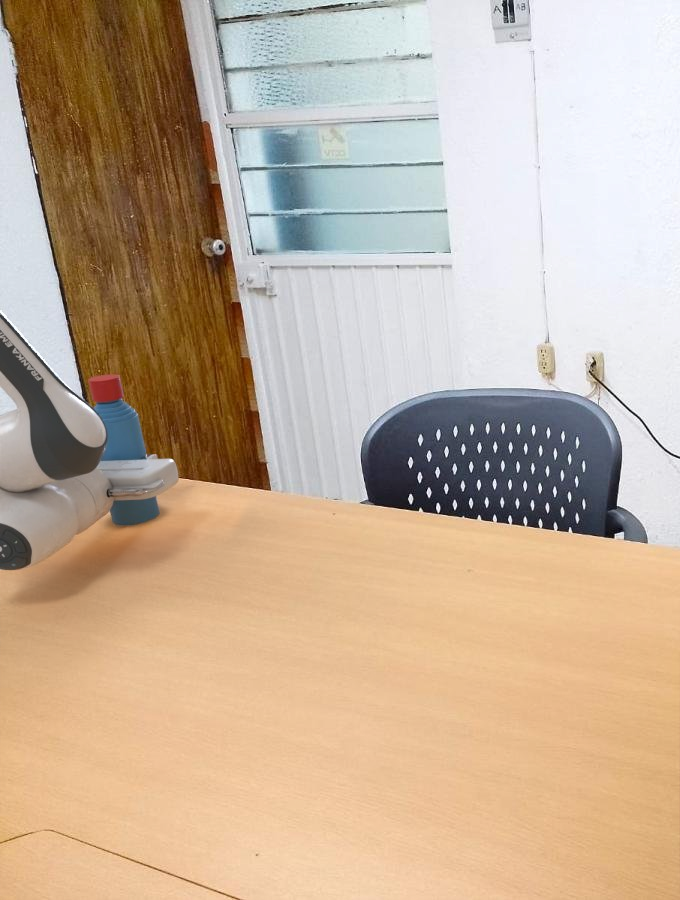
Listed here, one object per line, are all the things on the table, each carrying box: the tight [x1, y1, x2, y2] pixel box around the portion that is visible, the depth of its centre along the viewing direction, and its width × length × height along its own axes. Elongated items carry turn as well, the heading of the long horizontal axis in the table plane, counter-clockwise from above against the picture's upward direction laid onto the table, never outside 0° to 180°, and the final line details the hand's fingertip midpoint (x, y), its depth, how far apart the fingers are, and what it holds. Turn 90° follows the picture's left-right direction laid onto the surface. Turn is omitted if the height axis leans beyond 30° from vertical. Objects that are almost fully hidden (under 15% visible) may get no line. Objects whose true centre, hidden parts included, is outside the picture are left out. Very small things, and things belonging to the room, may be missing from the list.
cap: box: [87, 373, 125, 403], centre depth 120 cm, size 4×4×3 cm
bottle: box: [93, 398, 160, 527], centre depth 123 cm, size 6×6×22 cm
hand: (126, 460), depth 124 cm, fingers closed on bottle, 6 cm apart
